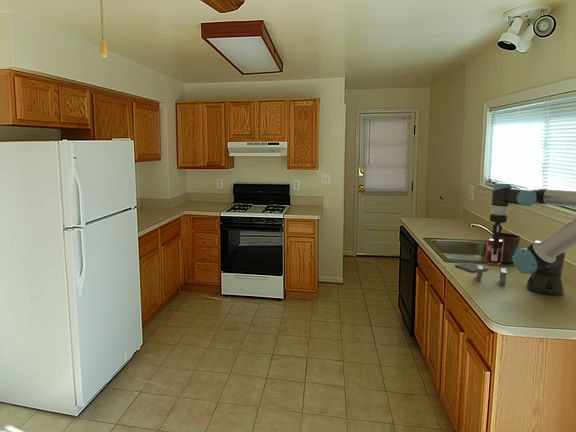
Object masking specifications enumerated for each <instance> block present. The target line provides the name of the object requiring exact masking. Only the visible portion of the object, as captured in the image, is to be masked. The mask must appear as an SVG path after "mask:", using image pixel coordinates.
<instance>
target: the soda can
mask: <svg viewBox="0 0 576 432" xmlns="http://www.w3.org/2000/svg"><path fill="white" fill-rule="evenodd" d="M493 239H494V238H492V237H489V238H488V239H487V243H486V252H485V262H486V263H487V264H490V265H496V266H497V265H501V264H502V263H503V262H502V253H503V245H504V241H503V240H502V239H499V248H498V257H497V261H491V255H492V248H491V246H493Z"/></svg>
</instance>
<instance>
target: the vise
mask: <svg viewBox="0 0 576 432" xmlns="http://www.w3.org/2000/svg"><path fill="white" fill-rule="evenodd" d="M477 265H478V269H477V272H476V282H480V283H481V281H482V277H483V274H484V271H483V267H484V266H483V265H482V264H477ZM507 273H508V271H507V268H505V267H501V268H500V269H499V282H500V285H501V286H506V284H507V283H506V282H507V276H508V275H507Z"/></svg>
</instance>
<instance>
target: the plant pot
mask: <svg viewBox="0 0 576 432" xmlns="http://www.w3.org/2000/svg"><path fill="white" fill-rule="evenodd" d="M491 235H492V237H491V238H493V232H492V234H491ZM500 239H502V240H503V241H504V245H503V253H502V262H501V263H503V264H509V263H510V262H511V260H513V255H514V253H515V252H516V251H517V250H518V249H517V248H518V246H519V243H520V241H521V236H520V235H517V234H514V233H507V232H501V235H500Z"/></svg>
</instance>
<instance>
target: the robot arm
mask: <svg viewBox="0 0 576 432" xmlns="http://www.w3.org/2000/svg"><path fill="white" fill-rule="evenodd" d="M511 185H512V184H511V183H509V182H494V184H493V188H492V191H491V192H492V195H491V197H492V198H491V206H489V209H490V214H489V221H490V222H491V223H493V224H492V233H493V238H494V239H493V246H491V248H492V255H491V261H497V257H498V248H499V239H500V235H501V233H502V229H503V226H502V225H501V224H505V223H507V220H508V213H509V204H510V205H517V206H522V207H531V206H533V205H548V206H549V205H550V206H559V207H568V208H569V207H570V208H576V190H575V189H559V188H558V189H557V188H544V187H537V188H536V187H535V188H515V187H512V186H511ZM575 245H576V217H575V218H574V219H572V220H570V221H569V222H567V223H566V224H565V225H563V226H562V227H560V228H558V229H557V230H556V231H554V232H553V233H551V234H550V235H548V236H547V237H545V238H544V239H543V240H535V241H533V242H532V243H530V244H529V245H527V246H525V247H521V248H519V249H516V251H515V253H514V255H513V257H512V262H513V266H514V267H515V269H516V270H517V271H519V273H522V274H526V275H530V274H531V275H530V276H529V278H528V280H527V283H526V288H527V289H528V290H530V291H531V292H535V293H537V294H543V295H547V296H561V295H564V292H565V289H564V284H563V280H562V279H563V278H562V275H563V267H564V261H565V256H566V252H567V251H568V250H569V249H571V248H572V247H574V246H575Z"/></svg>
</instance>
